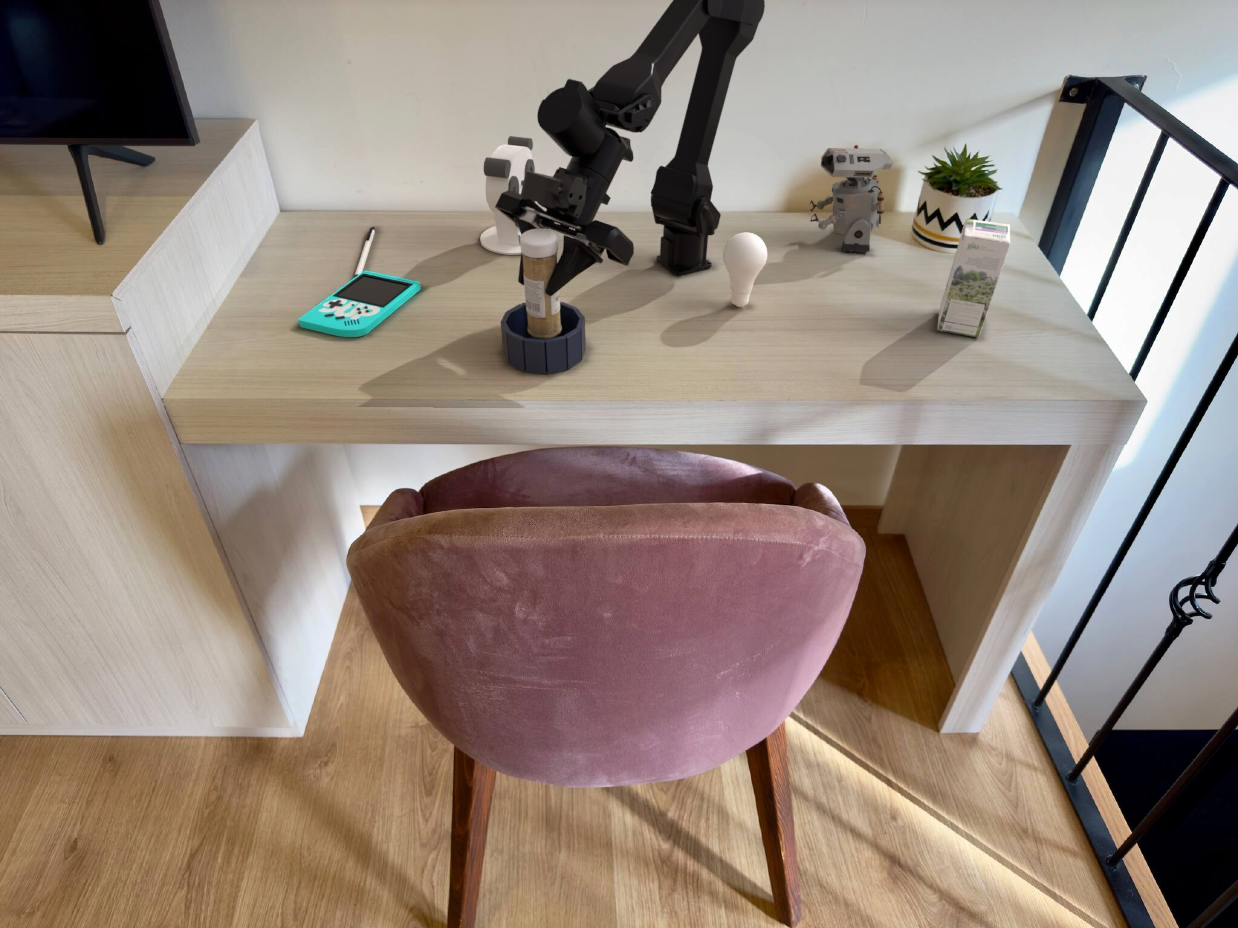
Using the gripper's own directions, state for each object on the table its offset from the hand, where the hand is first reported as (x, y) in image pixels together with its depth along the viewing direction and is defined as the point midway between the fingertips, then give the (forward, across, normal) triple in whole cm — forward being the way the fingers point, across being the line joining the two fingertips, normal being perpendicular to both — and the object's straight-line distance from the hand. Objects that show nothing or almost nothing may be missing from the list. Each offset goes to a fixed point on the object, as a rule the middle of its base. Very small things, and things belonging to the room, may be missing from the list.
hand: (534, 289), depth 107 cm
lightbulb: (-12, +14, +27) cm, 33 cm away
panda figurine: (-9, -26, +24) cm, 37 cm away
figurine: (-33, +15, +48) cm, 60 cm away
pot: (+6, 0, +8) cm, 10 cm away
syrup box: (-23, +40, +38) cm, 60 cm away
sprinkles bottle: (+4, 0, +6) cm, 7 cm away
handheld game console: (+12, -28, +2) cm, 31 cm away
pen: (+4, -41, +10) cm, 42 cm away
